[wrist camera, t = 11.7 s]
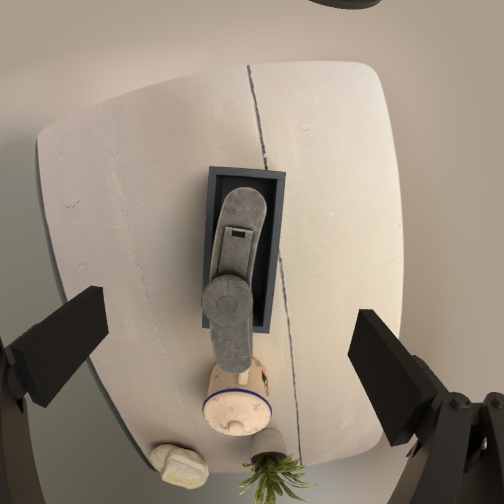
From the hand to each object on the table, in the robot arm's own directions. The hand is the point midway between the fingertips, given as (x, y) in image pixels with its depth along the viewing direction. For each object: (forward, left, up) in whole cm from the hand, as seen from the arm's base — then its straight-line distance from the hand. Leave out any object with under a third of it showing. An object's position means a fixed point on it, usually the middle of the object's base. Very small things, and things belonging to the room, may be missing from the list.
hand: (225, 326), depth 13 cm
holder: (0, 0, -23) cm, 23 cm away
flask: (+1, 0, -22) cm, 22 cm away
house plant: (+38, +8, -23) cm, 45 cm away
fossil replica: (+46, -10, -23) cm, 52 cm away
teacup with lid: (+20, +1, -23) cm, 30 cm away
